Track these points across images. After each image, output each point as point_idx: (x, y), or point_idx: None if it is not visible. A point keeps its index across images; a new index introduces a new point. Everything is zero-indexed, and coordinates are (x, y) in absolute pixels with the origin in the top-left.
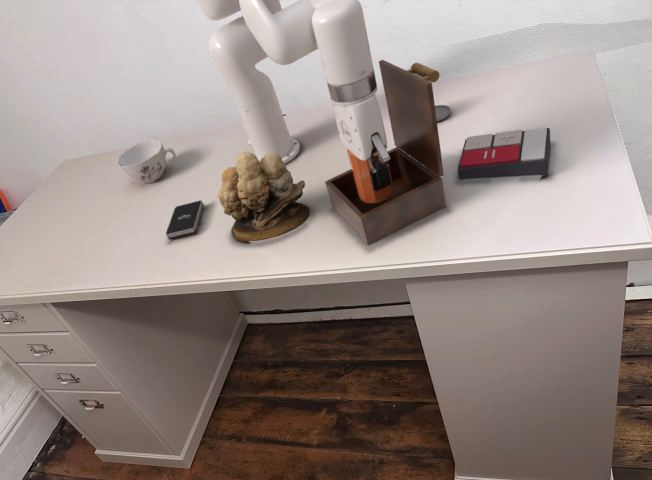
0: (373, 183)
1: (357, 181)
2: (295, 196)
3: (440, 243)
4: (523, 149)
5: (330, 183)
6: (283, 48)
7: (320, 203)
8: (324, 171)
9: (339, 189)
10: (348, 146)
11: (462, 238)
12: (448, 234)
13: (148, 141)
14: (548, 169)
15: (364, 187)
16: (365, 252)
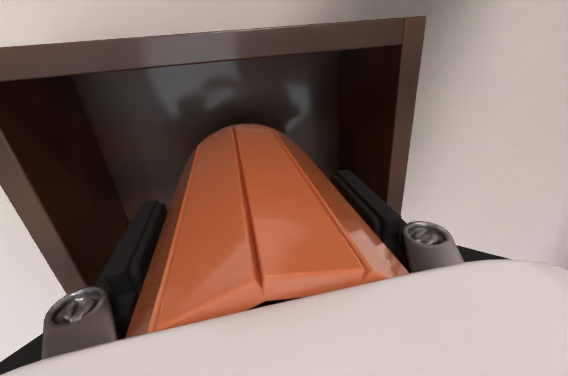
0: (128, 226)
1: (225, 158)
2: None
3: (3, 245)
4: None
5: (388, 36)
6: None
7: (415, 5)
8: (534, 86)
9: (368, 75)
10: (340, 351)
11: (8, 289)
12: (41, 269)
13: None
14: None
15: (190, 170)
16: (37, 35)
